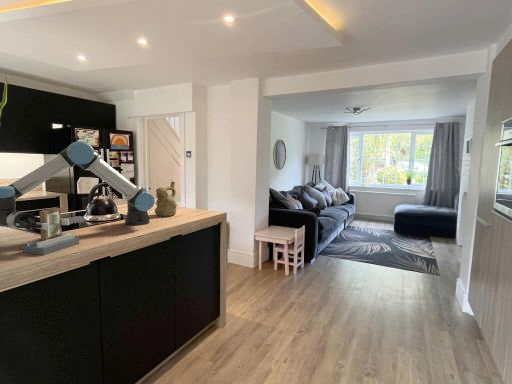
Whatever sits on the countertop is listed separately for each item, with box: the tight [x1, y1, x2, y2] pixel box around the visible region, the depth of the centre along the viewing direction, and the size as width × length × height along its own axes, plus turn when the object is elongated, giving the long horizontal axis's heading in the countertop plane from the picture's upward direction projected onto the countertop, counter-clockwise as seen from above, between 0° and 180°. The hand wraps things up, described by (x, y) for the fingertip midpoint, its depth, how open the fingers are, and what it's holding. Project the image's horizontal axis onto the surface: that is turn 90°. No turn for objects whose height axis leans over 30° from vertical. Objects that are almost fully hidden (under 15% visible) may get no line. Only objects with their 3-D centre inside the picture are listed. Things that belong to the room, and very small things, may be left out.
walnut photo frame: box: [39, 207, 63, 242], centre depth 134 cm, size 9×3×14 cm, turn 173°
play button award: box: [61, 215, 87, 226], centre depth 189 cm, size 16×2×20 cm
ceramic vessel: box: [154, 180, 178, 217], centre depth 217 cm, size 17×20×25 cm
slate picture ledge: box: [22, 231, 80, 256], centre depth 134 cm, size 18×12×5 cm, turn 165°
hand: (58, 224), depth 132 cm, fingers closed on walnut photo frame, 9 cm apart
